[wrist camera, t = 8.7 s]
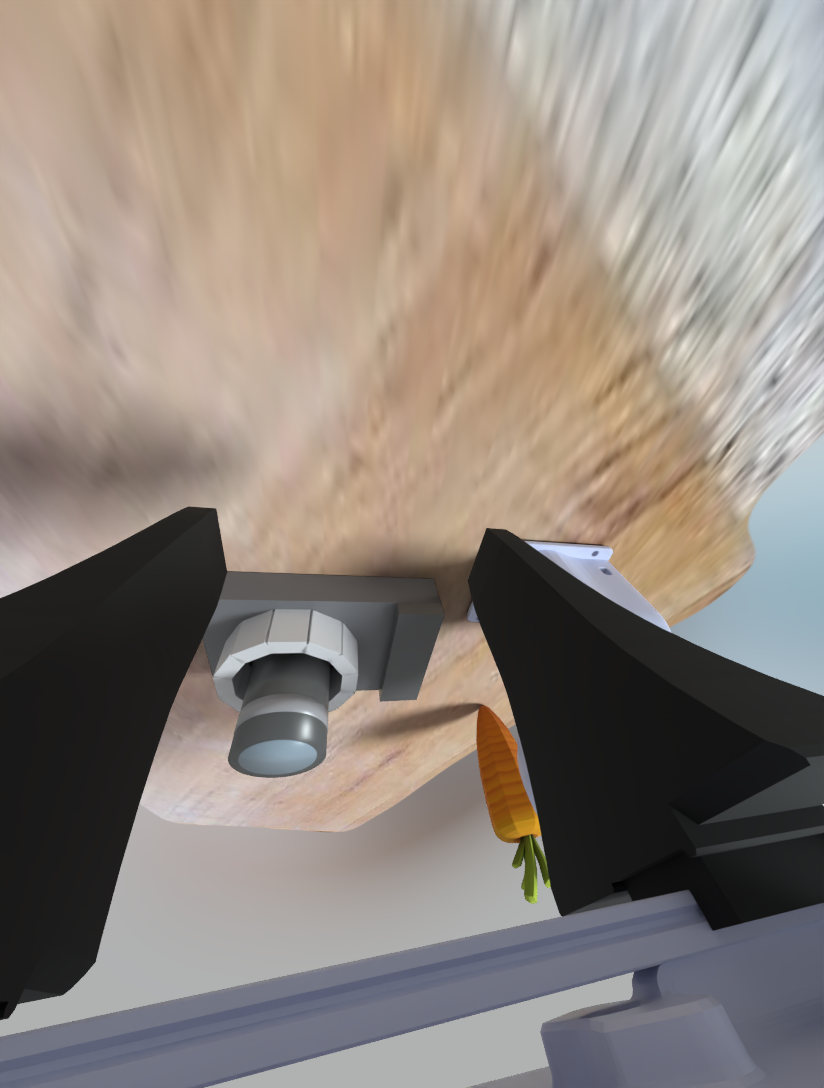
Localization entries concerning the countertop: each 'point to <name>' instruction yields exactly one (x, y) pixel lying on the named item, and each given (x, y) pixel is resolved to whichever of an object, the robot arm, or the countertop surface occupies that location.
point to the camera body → (326, 630)
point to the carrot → (509, 798)
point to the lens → (282, 716)
